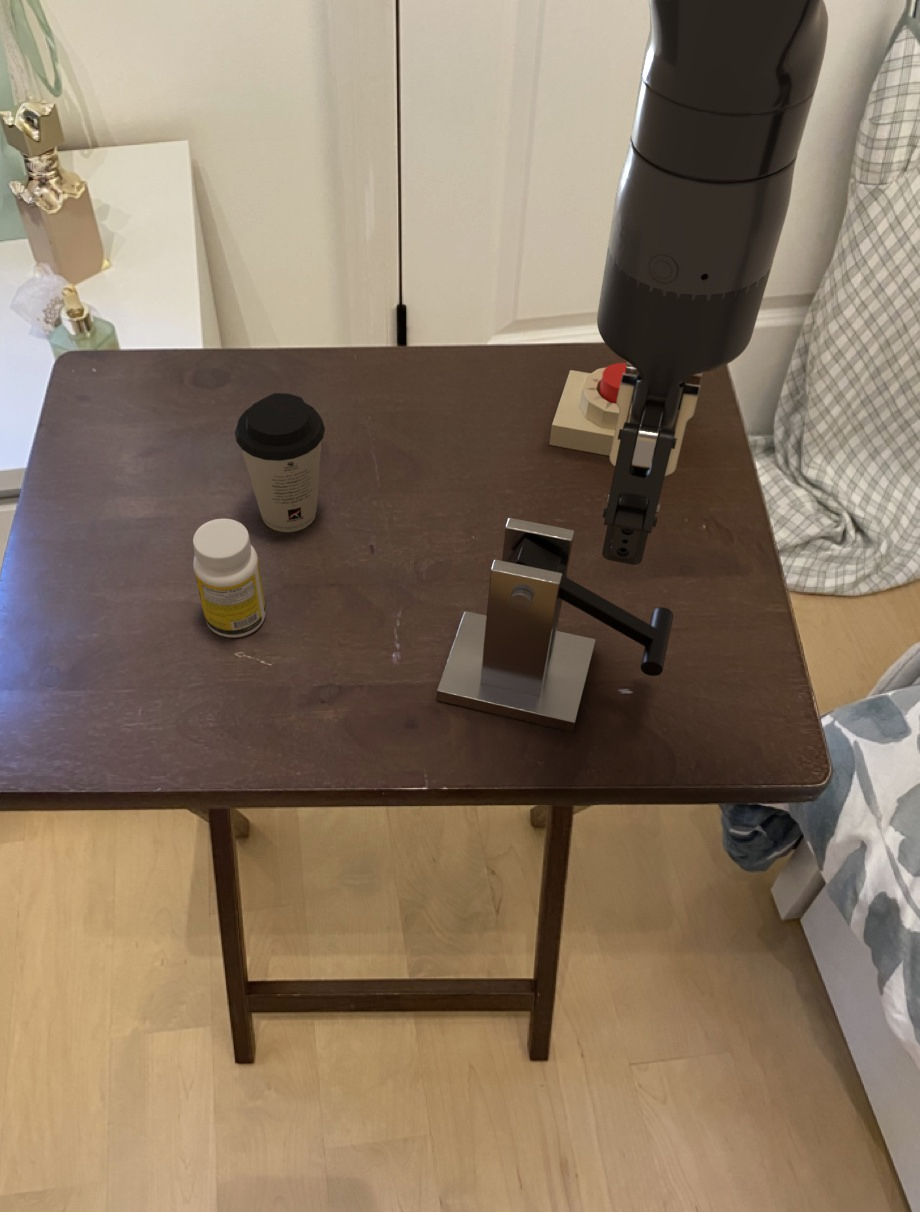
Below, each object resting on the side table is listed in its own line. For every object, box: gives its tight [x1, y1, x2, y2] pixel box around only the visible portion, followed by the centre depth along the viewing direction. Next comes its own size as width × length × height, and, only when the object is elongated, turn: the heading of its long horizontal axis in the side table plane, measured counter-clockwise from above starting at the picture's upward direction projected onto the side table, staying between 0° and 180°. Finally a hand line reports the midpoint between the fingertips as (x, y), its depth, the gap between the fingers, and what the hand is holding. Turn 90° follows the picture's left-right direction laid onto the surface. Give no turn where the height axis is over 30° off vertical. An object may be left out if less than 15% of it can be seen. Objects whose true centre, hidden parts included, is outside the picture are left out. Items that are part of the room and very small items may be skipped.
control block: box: [549, 366, 632, 457], centre depth 95 cm, size 10×8×4 cm
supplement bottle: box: [192, 518, 267, 638], centre depth 80 cm, size 5×5×8 cm
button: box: [600, 362, 627, 404], centre depth 93 cm, size 4×4×2 cm
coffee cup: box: [234, 392, 326, 533], centre depth 86 cm, size 7×7×10 cm
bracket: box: [436, 517, 596, 733], centre depth 75 cm, size 10×8×13 cm
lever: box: [507, 538, 674, 677], centre depth 72 cm, size 12×5×2 cm, turn 73°
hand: (633, 507), depth 63 cm, fingers open, 8 cm apart
